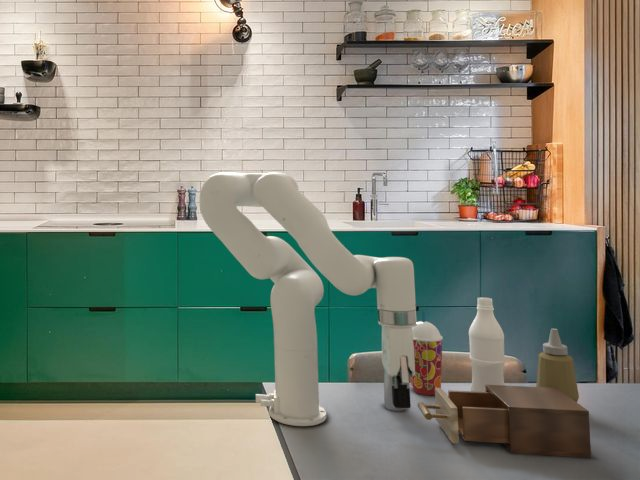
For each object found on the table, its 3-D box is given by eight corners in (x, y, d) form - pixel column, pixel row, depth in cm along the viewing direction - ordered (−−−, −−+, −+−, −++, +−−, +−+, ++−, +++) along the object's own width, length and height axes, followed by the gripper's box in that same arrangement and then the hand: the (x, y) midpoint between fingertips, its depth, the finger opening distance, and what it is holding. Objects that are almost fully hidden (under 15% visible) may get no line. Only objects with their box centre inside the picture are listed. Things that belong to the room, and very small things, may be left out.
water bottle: (512, 416, 124) (508, 302, 125) (477, 414, 125) (472, 301, 126) (500, 404, 131) (496, 296, 132) (466, 402, 132) (462, 295, 133)
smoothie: (403, 385, 145) (401, 306, 146) (438, 386, 144) (435, 307, 144) (413, 396, 136) (410, 313, 137) (449, 398, 135) (446, 314, 136)
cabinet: (511, 452, 107) (509, 406, 107) (486, 425, 119) (484, 384, 120) (591, 457, 104) (588, 410, 105) (557, 429, 117) (555, 387, 117)
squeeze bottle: (575, 405, 129) (571, 326, 130) (584, 418, 122) (580, 334, 123) (533, 400, 133) (530, 323, 133) (539, 413, 125) (536, 331, 126)
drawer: (429, 441, 110) (427, 406, 111) (415, 418, 121) (413, 386, 122) (522, 447, 107) (521, 411, 107) (499, 423, 118) (498, 390, 119)
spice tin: (386, 410, 128) (384, 355, 129) (382, 403, 133) (380, 350, 133) (407, 411, 127) (405, 356, 128) (403, 404, 132) (401, 350, 132)
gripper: (372, 309, 126) (376, 393, 125) (384, 325, 111) (389, 420, 110) (407, 309, 124) (412, 394, 123) (425, 325, 110) (430, 421, 109)
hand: (401, 406), depth 117 cm, fingers closed
